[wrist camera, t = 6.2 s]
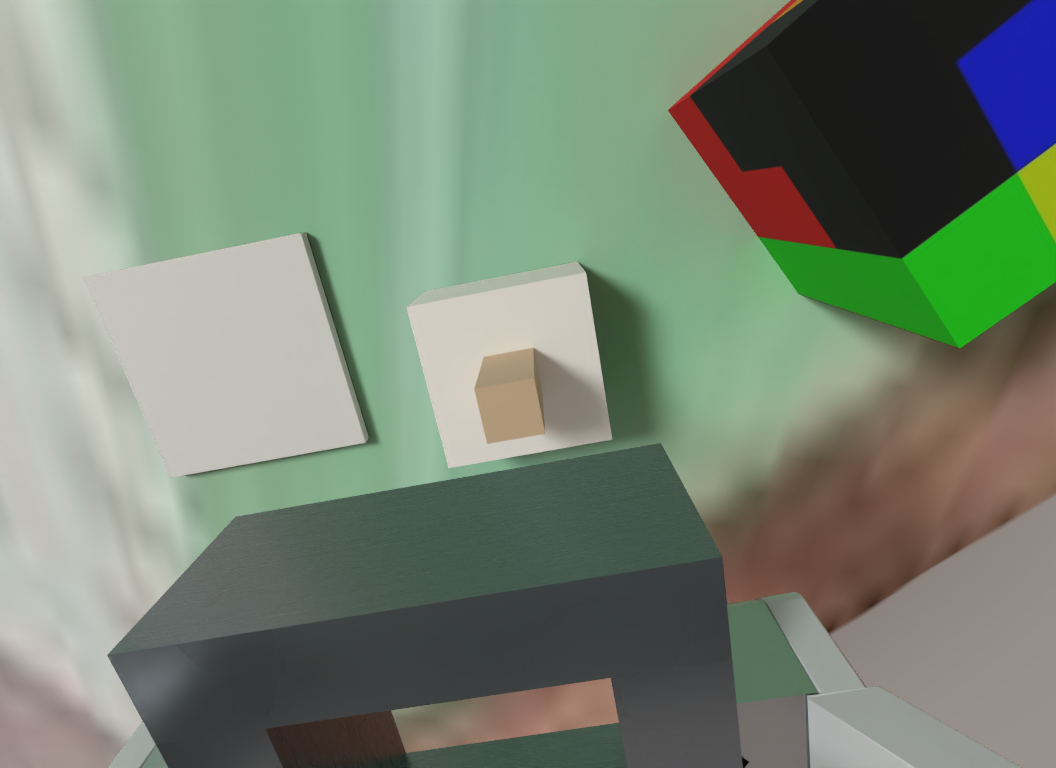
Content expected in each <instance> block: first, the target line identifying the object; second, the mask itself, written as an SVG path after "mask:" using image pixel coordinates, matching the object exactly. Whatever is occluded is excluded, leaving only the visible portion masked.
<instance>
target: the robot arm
mask: <svg viewBox="0 0 1056 768" xmlns="http://www.w3.org/2000/svg"><path fill="white" fill-rule="evenodd" d="M727 610H728V620H729V631H730V641H731V651H732V661H733V672H734V682H735V692H736V702H737V713H738V723H739V733H740V743H741V754H742V764H743V768H1021V767H1019V766H1018V765H1016V764H1014V763H1013V762H1011V761H1009V760H1007V759H1006V758H1004V757H1002V756H1000V755H999V754H997V753H995V752H994V751H992V750H990V749H988V748H987V747H985V746H983V745H981V744H979V743H978V742H976V741H974V740H973V739H971V738H969V737H967V736H966V735H964V734H962V733H960V732H959V731H957V730H955V729H953V728H952V727H950V726H948V725H946V724H945V723H943V722H941V721H939V720H938V719H936V718H934V717H932V716H931V715H929V714H927V713H925V712H924V711H922V710H920V709H918V708H917V707H915V706H913V705H911V704H910V703H908V702H906V701H905V700H903V699H901V698H899V697H898V696H896V695H894V694H892V693H891V692H889V691H887V690H885V689H884V688H882V687H880V686H875V687H866V686H865V685H864V683H863V681H862V680H861V679H860V677H859V676H858V674H857V673H856V671H855V670H854V669H853V667H852V666H851V664H850V663H849V661H848V660H847V659H846V657H845V656H844V654H843V653H842V651H841V650H840V649H839V647H838V646H837V644H836V643H835V642H834V640H833V639H832V637H831V636H830V634H829V633H828V632H827V630H826V629H825V627H824V626H823V624H822V623H821V622H820V620H819V619H818V617H817V616H816V614H815V613H814V612H813V610H812V609H811V607H810V606H809V604H808V603H807V602H806V600H805V599H804V597H803V596H802V595H800V594H799V593H797V592H792V593H786V594H780V595H774V596H769V597H763V598H760V599H754V600H748V601H742V602H736V603H729V604H727ZM108 768H168V766H167V764H166V763H165V761H164V759H163V757H162V755H161V753H160V751H159V750H158V748H157V746H156V744H155V742H154V740H153V739H152V737H151V735H150V733H149V731H148V729H147V727H146V726H145V724H144V722H143V721H142V723H141V724H140V725H139V727H138V728H137V729H136V731H135V732H134V733H133V735H132V736H131V737H130V739H129V740H128V741H127V743H126V744H125V745H124V747H123V748H122V749H121V751H120V752H119V753H118V755H117V756H116V757H115V759H114V760H113V761H112V763H111V764H110V765H109V767H108Z"/></svg>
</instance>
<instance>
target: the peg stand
mask: <svg viewBox="0 0 1056 768" xmlns="http://www.w3.org/2000/svg"><path fill="white" fill-rule="evenodd" d="M407 311H408V315H409V319H410V322H411V326H412V330H413V334H414V338H415V342H416V345H417V349H418V353H419V357H420V361H421V364H422V368H423V372H424V376H425V380H426V383H427V387H428V391H429V395H430V399H431V402H432V406H433V410H434V414H435V418H436V422H437V425H438V429H439V433H440V437H441V441H442V444H443V448H444V452H445V456H446V460H447V463H448V467H449V468H453V467H458V466H464V465H470V464H475V463H481V462H487V461H493V460H498V459H504V458H510V457H516V456H521V455H527V454H533V453H538V452H544V451H550V450H556V449H561V448H567V447H573V446H578V445H584V444H590V443H596V442H601V441H607V440H612V434H611V428H610V421H609V415H608V409H607V402H606V396H605V390H604V383H603V377H602V371H601V364H600V358H599V352H598V345H597V339H596V333H595V326H594V320H593V314H592V307H591V301H590V295H589V288H588V282H587V276H586V272H585V271H584V269H583V268H582V267H581V266H580V264H579V263H578V262H572V263H567V264H562V265H557V266H552V267H547V268H542V269H536V270H531V271H526V272H521V273H516V274H511V275H506V276H501V277H495V278H490V279H485V280H480V281H475V282H470V283H465V284H459V285H454V286H449V287H444V288H439V289H434V290H429V291H425V292H423V293H422V294H421V295H420V296H419V297H418V298H416V299H415V300H414V301H413V302H412V303H411V304H410V305H408V306H407Z"/></svg>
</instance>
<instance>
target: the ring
mask: <svg viewBox="0 0 1056 768" xmlns="http://www.w3.org/2000/svg"><path fill="white" fill-rule="evenodd" d="M107 656H108V657H109V659H110V661H111V663H112V665H113V667H114V668H115V670H116V672H117V674H118V676H119V678H120V680H121V681H122V683H123V685H124V687H125V689H126V691H127V692H128V694H129V696H130V698H131V700H132V702H133V704H134V705H135V707H136V709H137V711H138V713H139V715H140V716H141V718H142V720H143V722H144V724H145V726H146V727H147V729H148V731H149V733H150V735H151V737H152V739H153V740H154V742H155V744H156V746H157V748H158V750H159V751H160V753H161V755H162V757H163V759H164V761H165V763H166V764H167V766H168V768H743V764H742V754H741V743H740V733H739V723H738V713H737V702H736V692H735V682H734V672H733V661H732V651H731V641H730V631H729V620H728V610H727V600H726V590H725V580H724V569H723V559H722V556H721V554H720V552H719V550H718V548H717V546H716V545H715V543H714V541H713V539H712V537H711V535H710V533H709V532H708V530H707V528H706V526H705V524H704V522H703V521H702V519H701V517H700V515H699V513H698V511H697V509H696V508H695V506H694V504H693V502H692V500H691V498H690V496H689V495H688V493H687V491H686V489H685V487H684V485H683V483H682V482H681V480H680V478H679V476H678V474H677V472H676V471H675V469H674V467H673V465H672V463H671V461H670V459H669V458H668V456H667V454H666V452H665V450H664V448H663V446H662V445H661V443H659V444H654V445H648V446H642V447H636V448H630V449H625V450H619V451H613V452H607V453H602V454H596V455H590V456H584V457H578V458H573V459H567V460H561V461H555V462H550V463H544V464H538V465H532V466H527V467H521V468H515V469H509V470H503V471H498V472H492V473H486V474H480V475H475V476H469V477H463V478H457V479H451V480H446V481H440V482H434V483H428V484H423V485H417V486H411V487H405V488H399V489H394V490H388V491H382V492H376V493H371V494H365V495H359V496H353V497H348V498H342V499H336V500H330V501H324V502H319V503H313V504H307V505H301V506H296V507H290V508H284V509H278V510H272V511H267V512H261V513H255V514H249V515H244V516H238V517H235V518H234V519H233V520H232V521H231V522H230V523H229V525H228V526H227V527H226V528H225V529H224V530H223V531H222V532H221V533H220V534H219V535H218V536H217V537H216V539H215V540H214V541H213V542H212V543H211V544H210V545H209V546H208V547H207V548H206V549H205V550H204V552H203V553H202V554H201V555H200V556H199V557H198V558H197V559H196V560H195V561H194V562H193V563H192V564H191V566H190V567H189V568H188V569H187V570H186V571H185V572H184V573H183V574H182V575H181V576H180V577H179V578H178V580H177V581H176V582H175V583H174V584H173V585H172V586H171V587H170V588H169V589H168V590H167V591H166V593H165V594H164V595H163V596H162V597H161V598H160V599H159V600H158V601H157V602H156V603H155V604H154V605H153V607H152V608H151V609H150V610H149V611H148V612H147V613H146V614H145V615H144V616H143V617H142V618H141V619H140V621H139V622H138V623H137V624H136V625H135V626H134V627H133V628H132V629H131V630H130V631H129V632H128V634H127V635H126V636H125V637H124V638H123V639H122V640H121V641H120V642H119V643H118V644H117V645H116V646H115V648H114V649H113V650H112V651H111V652H110V653H109V654H108V655H107ZM605 678H611V681H612V687H613V692H614V697H615V703H616V708H617V713H618V719H619V723H614V724H607V725H600V726H593V727H586V728H579V729H572V730H565V731H558V732H551V733H544V734H537V735H530V736H523V737H516V738H509V739H502V740H495V741H488V742H481V743H474V744H467V745H460V746H453V747H446V748H439V749H432V750H425V751H418V752H411V753H406V752H405V749H404V746H403V743H402V740H401V738H400V735H399V732H398V729H397V726H396V723H395V721H394V718H393V715H392V712H391V710H396V709H402V708H409V707H416V706H423V705H429V704H436V703H443V702H450V701H456V700H463V699H470V698H477V697H483V696H490V695H497V694H504V693H511V692H517V691H524V690H531V689H538V688H544V687H551V686H558V685H565V684H571V683H578V682H585V681H592V680H598V679H605Z"/></svg>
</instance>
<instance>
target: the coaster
mask: <svg viewBox="0 0 1056 768" xmlns="http://www.w3.org/2000/svg"><path fill="white" fill-rule="evenodd" d="M83 278H84V281H85V283H86V285H87V287H88V290H89V292H90V294H91V297H92V299H93V301H94V303H95V306H96V308H97V310H98V313H99V315H100V317H101V319H102V322H103V324H104V326H105V329H106V331H107V333H108V335H109V338H110V340H111V342H112V345H113V347H114V349H115V351H116V354H117V356H118V358H119V361H120V363H121V365H122V367H123V370H124V372H125V374H126V377H127V379H128V381H129V383H130V386H131V388H132V390H133V393H134V395H135V397H136V399H137V402H138V404H139V406H140V409H141V411H142V413H143V415H144V418H145V420H146V422H147V425H148V427H149V429H150V431H151V434H152V436H153V438H154V441H155V443H156V445H157V447H158V450H159V452H160V454H161V457H162V459H163V461H164V463H165V466H166V468H167V470H168V472H169V475H170V477H171V478H172V477H178V476H183V475H189V474H194V473H200V472H205V471H211V470H217V469H222V468H228V467H233V466H239V465H244V464H250V463H256V462H261V461H267V460H272V459H278V458H284V457H289V456H295V455H300V454H306V453H311V452H317V451H323V450H328V449H334V448H339V447H345V446H351V445H356V444H362V443H366V441H367V440H368V438H369V436H368V433H367V430H366V427H365V423H364V420H363V417H362V414H361V410H360V407H359V404H358V401H357V397H356V394H355V391H354V387H353V384H352V381H351V378H350V374H349V371H348V368H347V365H346V361H345V358H344V355H343V352H342V348H341V345H340V342H339V338H338V335H337V332H336V329H335V325H334V322H333V319H332V316H331V312H330V309H329V306H328V303H327V299H326V296H325V293H324V290H323V286H322V283H321V280H320V276H319V273H318V270H317V267H316V263H315V260H314V257H313V254H312V250H311V247H310V244H309V241H308V237H307V234H306V232H304V233H298V234H293V235H288V236H283V237H278V238H274V239H269V240H264V241H259V242H254V243H249V244H244V245H239V246H234V247H229V248H225V249H220V250H215V251H210V252H205V253H200V254H195V255H190V256H185V257H181V258H176V259H171V260H166V261H161V262H156V263H151V264H146V265H141V266H136V267H132V268H127V269H122V270H117V271H112V272H107V273H102V274H97V275H92V276H88V277H83Z"/></svg>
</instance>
